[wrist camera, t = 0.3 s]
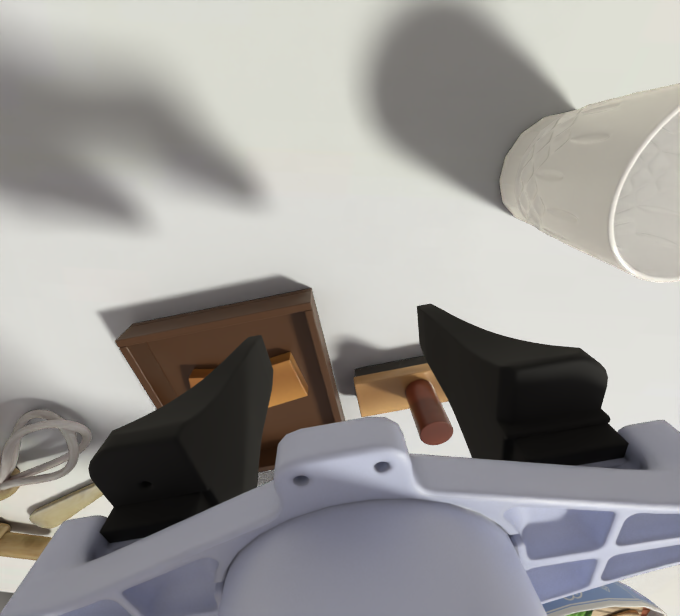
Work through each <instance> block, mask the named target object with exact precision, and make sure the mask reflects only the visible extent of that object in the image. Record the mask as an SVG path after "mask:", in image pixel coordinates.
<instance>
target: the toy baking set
mask: <svg viewBox="0 0 680 616" xmlns="http://www.w3.org/2000/svg"><path fill="white" fill-rule="evenodd" d="M33 418H43V419H46V421H41V422H36V423H33V424H30V425H27V426H25V425H26V424H27V422H28V421H29V420H30V419H33ZM48 428H58V429H59V430H60V431H61V433H62V434H63V436H64V438H65V440H66V442H67V446H68V450H69V452H68V453H66V454H64V455H62V456H60V457H58V458H56V459H53V460H51V461H49V462H46V463H44V464H41V465H39V466H36V467H34V468H31V469H28V470H26V471H23V472H21V473H20V471H19V470H18V469H17V468H15V467H16V464H17V461H18V458H19V452H20V444H21V438H22V437H23V436H25V435H26V434H28V433H31V432H33V431H37V430H41V429H48ZM76 433H79V434H80V435H81V436H82V441H81V442H80V444H79V445H78V441H77V438H76ZM91 439H92V434H91V431H90V430H89V428H87V427H86V426H85V425H83V424H80V423H78V422H75V421H70V420H64V419H63V418H62V417H61V416H59V415H57V414H56V413H54V412H51V411H48V410H42V409H40V410H33V411H30V412H28V413H26V414H24V415H23V416H22V417H21V418H20V419H19V420H18V421H17V423H16V425H15V427H14V429H13V432H12V435H11V436H10V438H9V439H8V441H7V442H6V443H5V446H4V448H3V451H2V457H1V465H0V501H1V500H3V499H6V498H8V497H9V496H11V495H12V494H14V493H15V492H16V491H17V489H18V488H19V486H22V485H29V484H36V483H43V482H48V481H52V480H56V479H59V478H61V477H63V476H65V475H66V474H68V473H69V472H70V471H71V470H72V469H73V468H74V467H75V465H76V463H77V461H78V457H79V454H80V453H81V452H82V451H84V450H85V449H86V448H87V447H88V445H89V444H90V442H91ZM66 461H68V462H67V464H66V466H65V467H64V468H62V469H61V470H59V471H56V472H53V473H49V474H43V475H37V476H33V475H35V474H38V473H41V472H43V471H46V470H48V469H51V468H53V467H55V466H58V465H60V464H62V463H64V462H66ZM102 495H103V493H102V492H101V491H100V490H99V489H98V487H97V486H96V485H95V484H94V483H93V484H90V485H88V486H86V487H83V488H81V489H79V490H77V491H75V492H72V493H70V494H68V495H66V496H64V497H61V498H59V499H57V500H55V501H53V502H51V503H48V504H46V505H44V506H42V507H40V508H38V509H36V510H35V511H34V512H33V513H32V514H31V515H30V518H29V519H30V521H31V522H32V523H33V524H35V525H36V526H39V527H42V528H54V527H56V526H58V525H60V524H61V523H63V522H64V521H66V520H67V519H69V518H70V517H72V516H73V515H75V514H76V513H77V512H79V511H80V510H82V509H83V508H85V507H86V506H88V505H89V504H91V503H92V502H94V501H95V500H96V499H98V498H99V497H101V496H102ZM10 531H11V527H10V525H9V524H6V523H0V556H4V557H12V558H21V559H29V560H37V559H38V558H39V556H40V555H41V553H42V552H43V550H44V549H45V547H46V546H47V545H48V543H49V542H50V540H51V539H52V538H51V537H44V536H36V535H29V534H21V533H13V532H10Z"/></svg>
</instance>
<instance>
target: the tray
mask: <svg viewBox="0 0 680 616" xmlns="http://www.w3.org/2000/svg"><path fill="white" fill-rule="evenodd" d="M257 335H262V338H263V341H264V344H265V347H266V350H267V353H268V356H269V358H272V357H275V356H278V355H281V354H284V353H287V352H291V354H292V356H293V357H294V359H295V361H296V363H297V365H298V367H299V369H300V371H301V373H302V375H303V377H304V379H305V381H306V383H307V385H308V396H305V397H302V398H298V399H295V400H292V401H288V402H285V403H282V404H279V405H275V406H272V407H269V408H268V410H267V415H266V419H265V424H264V428H263V433H262V439H261V448H260V458H259V470H258V472H263V471H268V470H274V469H275V462H276V455H277V447H278V444H279V442H280V441H281V440H282V439H283V438H284V436H285V435H286V434H289V433H291V432H294V431H296V430H299V429H302V428H308V427H313V426H319V425H325V424H331V423H336V422H342V421H345V418H344V414H343V410H342V406H341V402H340V398H339V394H338V390H337V386H336V383H335V379H334V375H333V371H332V367H331V363H330V359H329V355H328V351H327V347H326V343H325V339H324V335H323V332H322V328H321V324H320V320H319V316H318V312H317V308H316V304H315V300H314V296H313V292H312V289H311V288H309V289H304V290H299V291H294V292H289V293H284V294H279V295H274V296H269V297H264V298H259V299H254V300H249V301H244V302H239V303H234V304H229V305H224V306H219V307H214V308H209V309H204V310H199V311H194V312H189V313H184V314H179V315H174V316H169V317H164V318H159V319H154V320H149V321H144V322H139V323H134V324H132V325H131V326H130V327H129V328H128V329H127V330H126V331H125V332H124V333H123V334H122V335H121V336H120V337H119V338H118V339H117V340H115V342H116V344H117V346H118V347H120V348H119V349H120V350H121V352H122V354H123V355H124V357H125V358H126V360H127V362H128V363H129V365H130V366H131V368H132V370H133V371H134V373H135V374H136V376H137V378H138V379H139V381H140V382H141V384H142V386H143V387H144V389H145V390H146V392H147V394H148V395H149V397H150V398H151V400H152V402H153V403H154V405H155V406H156V408H157V409H159V408H161V407H162V406H164V405H166V404H168V403H169V402H171V401H172V400H174V399H176V398H177V397H179V396H180V395H182V394H183V393H185V392H186V391H188V390H189V389H191V387H190V383H189V379H188V378H189V376H190V374H191V373H192V371H193V369H215V368H216V367H217V366H219V365H220V364H221V363H222V362H223V361H224V360H225V359H226V358H227V357H228V356H229V355H230V354H231V353H232V352H233V351H234V350H235V349H236V348H237V347H238V346H239V345H240V344H241V343H242V342H243V341H244V340H245V339H247V338H248V337H251V336H257Z"/></svg>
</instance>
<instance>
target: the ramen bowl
mask: <svg viewBox="0 0 680 616" xmlns="http://www.w3.org/2000/svg"><path fill="white" fill-rule="evenodd" d="M542 606H543V608H544V610H545V612H546V614H547V616H667V614H666V613H665V612H664V611H663V610H661V609H660V608H659V607H658V606H656V605H655V604H654V603H652V602H651V601H650V600H649V599H647V598H646V597H644V596H643V595H641V594H640V593H638V592H637V591H635V590H634V589H632V588H631V587H629V586H627V585H625V584H623V583H621V582H620V581H616V582H613V583H610V584H606V585H603V586H600V587H597V588H593V589H590V590H587V591H584V592H580V593H577V594H574V595H570V596H567V597H564V598H561V599H557V600H554V601H551V602H548V603H544V604H542Z"/></svg>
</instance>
